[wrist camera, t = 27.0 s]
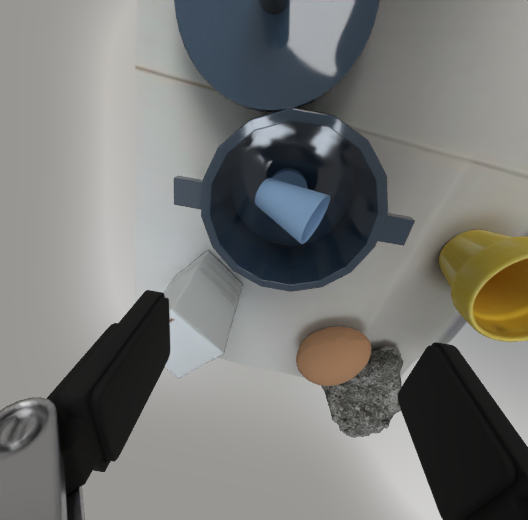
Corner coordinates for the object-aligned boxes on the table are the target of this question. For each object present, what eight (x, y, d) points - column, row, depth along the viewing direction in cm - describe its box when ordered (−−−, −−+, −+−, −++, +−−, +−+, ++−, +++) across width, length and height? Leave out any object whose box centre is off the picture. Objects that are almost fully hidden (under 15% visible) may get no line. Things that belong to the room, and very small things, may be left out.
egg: (313, 404, 38) (388, 381, 35) (288, 378, 34) (370, 350, 31) (306, 357, 44) (369, 334, 41) (284, 332, 41) (351, 304, 38)
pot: (206, 95, 27) (168, 86, 19) (407, 130, 27) (459, 137, 19) (200, 233, 35) (171, 270, 26) (358, 261, 35) (379, 307, 26)
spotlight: (328, 180, 30) (270, 157, 29) (343, 207, 21) (262, 174, 20) (309, 219, 32) (255, 198, 31) (316, 258, 23) (242, 230, 23)
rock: (394, 343, 37) (411, 352, 44) (313, 346, 45) (339, 354, 52) (410, 454, 32) (427, 445, 39) (314, 436, 39) (343, 431, 46)
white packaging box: (173, 276, 38) (125, 340, 27) (208, 248, 36) (171, 307, 25) (209, 309, 41) (178, 380, 30) (244, 285, 38) (225, 355, 27)
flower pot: (529, 208, 30) (626, 246, 21) (502, 285, 34) (573, 342, 26) (429, 217, 31) (482, 255, 22) (417, 290, 36) (457, 344, 27)
